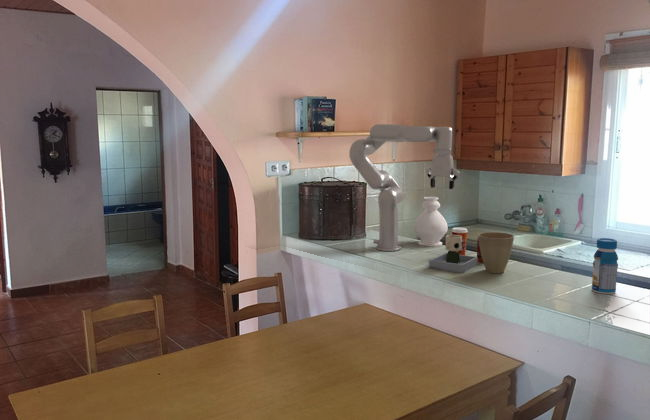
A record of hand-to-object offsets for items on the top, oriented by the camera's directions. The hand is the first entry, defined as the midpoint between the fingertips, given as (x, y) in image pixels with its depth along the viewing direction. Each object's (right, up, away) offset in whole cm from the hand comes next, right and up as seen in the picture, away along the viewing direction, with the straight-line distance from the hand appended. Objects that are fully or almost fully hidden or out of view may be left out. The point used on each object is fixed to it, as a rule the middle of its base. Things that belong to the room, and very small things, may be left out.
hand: (441, 188), depth 270 cm
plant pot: (+17, -37, -29) cm, 50 cm away
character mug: (+1, -35, -20) cm, 41 cm away
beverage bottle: (+49, -42, -59) cm, 87 cm away
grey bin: (+1, -36, -20) cm, 41 cm away
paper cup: (+8, -34, -3) cm, 34 cm away
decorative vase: (0, -29, +29) cm, 41 cm away
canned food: (+18, -35, -10) cm, 40 cm away
